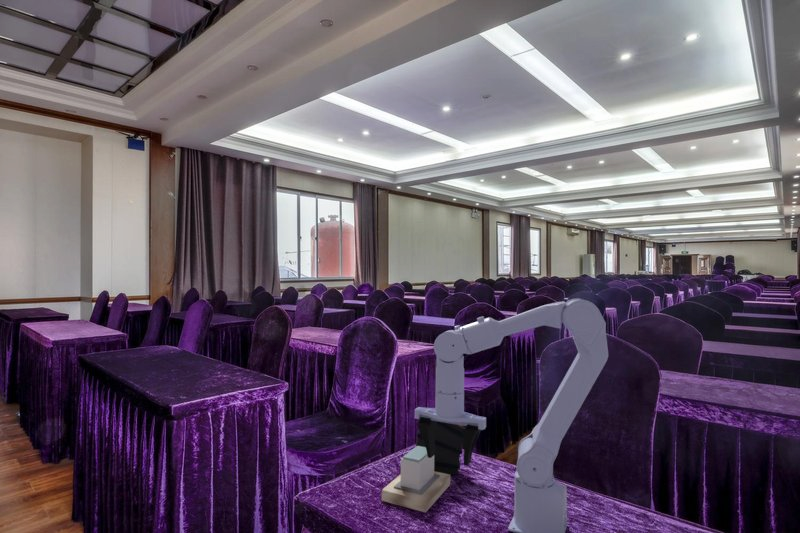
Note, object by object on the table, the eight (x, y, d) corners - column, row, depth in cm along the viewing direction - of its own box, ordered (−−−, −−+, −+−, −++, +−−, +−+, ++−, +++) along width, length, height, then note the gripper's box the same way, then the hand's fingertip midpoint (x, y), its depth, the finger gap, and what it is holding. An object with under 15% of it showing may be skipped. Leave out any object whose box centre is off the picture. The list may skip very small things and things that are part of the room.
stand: (450, 484, 101) (450, 473, 101) (425, 512, 89) (425, 499, 89) (410, 475, 106) (410, 464, 106) (381, 500, 93) (381, 488, 93)
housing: (419, 490, 93) (419, 461, 93) (400, 485, 95) (400, 457, 95) (434, 475, 100) (434, 448, 100) (416, 471, 102) (416, 445, 102)
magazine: (401, 458, 111) (428, 405, 111) (449, 485, 110) (476, 431, 110) (400, 464, 108) (428, 409, 107) (449, 492, 106) (477, 436, 106)
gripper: (490, 391, 90) (490, 459, 90) (424, 382, 97) (423, 446, 96) (480, 399, 84) (479, 472, 83) (410, 389, 90) (409, 457, 90)
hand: (448, 459), depth 89 cm, fingers open, 7 cm apart
